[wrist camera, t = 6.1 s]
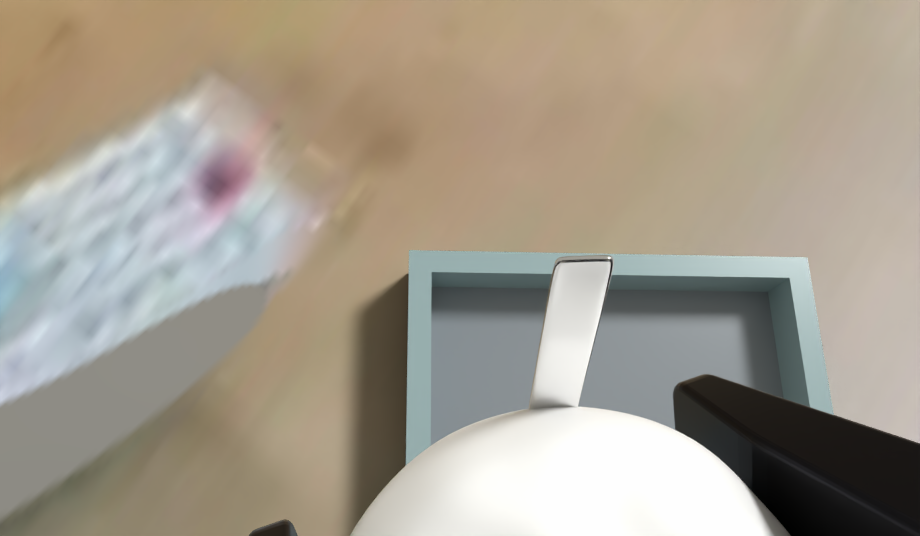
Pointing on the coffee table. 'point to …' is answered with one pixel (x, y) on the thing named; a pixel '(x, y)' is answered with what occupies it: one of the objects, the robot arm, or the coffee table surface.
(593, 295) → the milkshake
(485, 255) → the tray
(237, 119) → the coffee table surface
